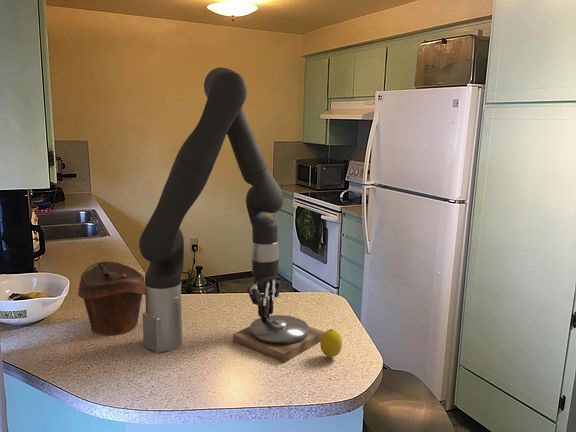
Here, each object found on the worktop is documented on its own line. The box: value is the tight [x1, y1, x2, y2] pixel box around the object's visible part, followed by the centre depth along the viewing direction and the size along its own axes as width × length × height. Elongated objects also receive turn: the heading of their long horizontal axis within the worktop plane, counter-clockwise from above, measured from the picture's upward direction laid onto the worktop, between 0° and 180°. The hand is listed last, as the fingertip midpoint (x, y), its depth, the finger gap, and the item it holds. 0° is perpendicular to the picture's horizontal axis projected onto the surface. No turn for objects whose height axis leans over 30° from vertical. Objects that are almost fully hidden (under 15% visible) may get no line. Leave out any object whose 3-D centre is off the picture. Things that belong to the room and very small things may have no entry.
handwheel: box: [249, 295, 309, 344], centre depth 133 cm, size 16×16×9 cm
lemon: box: [319, 328, 343, 359], centre depth 125 cm, size 6×6×8 cm
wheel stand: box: [232, 325, 325, 364], centre depth 134 cm, size 18×18×3 cm
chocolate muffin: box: [77, 261, 145, 336], centre depth 139 cm, size 18×20×18 cm
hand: (265, 314), depth 138 cm, fingers closed on handwheel, 2 cm apart
